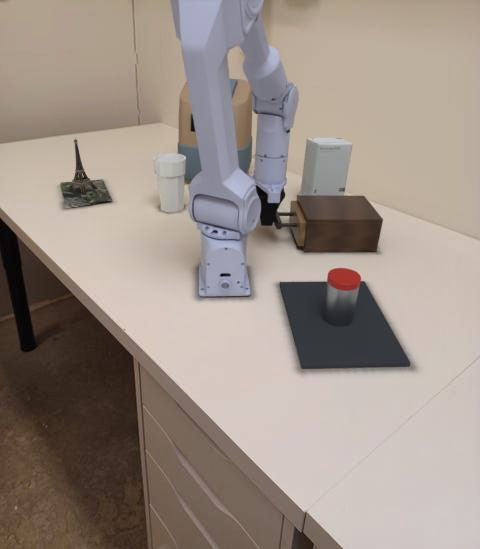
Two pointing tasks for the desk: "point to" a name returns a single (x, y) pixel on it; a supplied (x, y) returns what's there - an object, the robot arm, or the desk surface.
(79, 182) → the eiffel tower figurine
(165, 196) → the cup
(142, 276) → the desk surface
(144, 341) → the desk surface
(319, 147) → the cosmetic box
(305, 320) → the mat
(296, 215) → the drawer
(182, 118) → the tan and blue canister
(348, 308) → the tin
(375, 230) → the cabinet
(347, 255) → the desk surface
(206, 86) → the robot arm
